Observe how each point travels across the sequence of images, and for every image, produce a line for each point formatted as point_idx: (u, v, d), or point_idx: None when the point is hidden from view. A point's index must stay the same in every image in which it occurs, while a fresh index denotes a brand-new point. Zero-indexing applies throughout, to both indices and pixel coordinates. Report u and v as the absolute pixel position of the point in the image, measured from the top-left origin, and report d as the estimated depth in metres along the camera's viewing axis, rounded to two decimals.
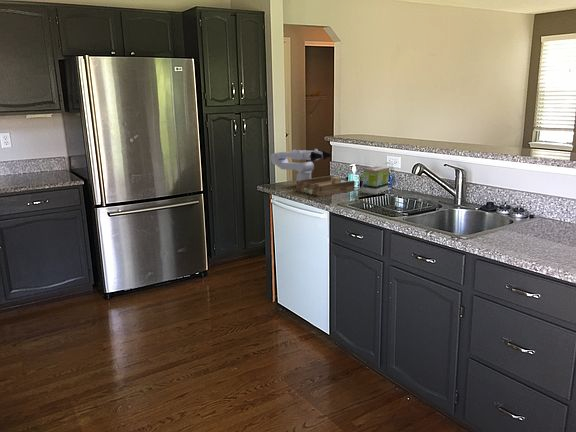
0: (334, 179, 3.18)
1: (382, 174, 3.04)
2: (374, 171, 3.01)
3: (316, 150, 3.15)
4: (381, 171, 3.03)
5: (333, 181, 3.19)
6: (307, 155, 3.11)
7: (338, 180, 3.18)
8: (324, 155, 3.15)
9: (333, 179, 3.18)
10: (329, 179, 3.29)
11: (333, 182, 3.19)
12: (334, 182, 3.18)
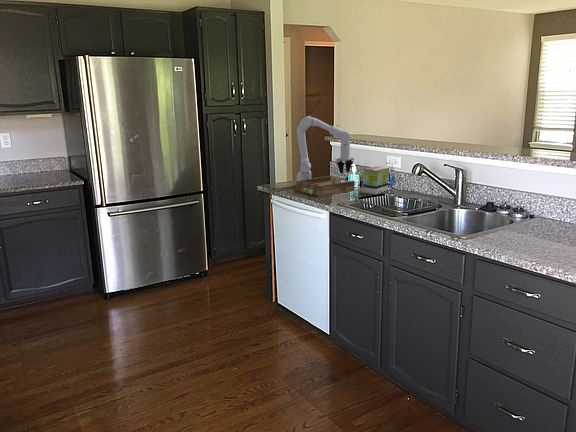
0: (334, 179, 3.18)
1: (382, 174, 3.04)
2: (374, 171, 3.01)
3: (348, 159, 3.18)
4: (381, 171, 3.03)
5: (333, 181, 3.19)
6: (337, 160, 3.16)
7: (338, 180, 3.18)
8: (347, 163, 3.23)
9: (333, 179, 3.18)
10: (329, 179, 3.29)
11: (333, 182, 3.19)
12: (334, 182, 3.18)
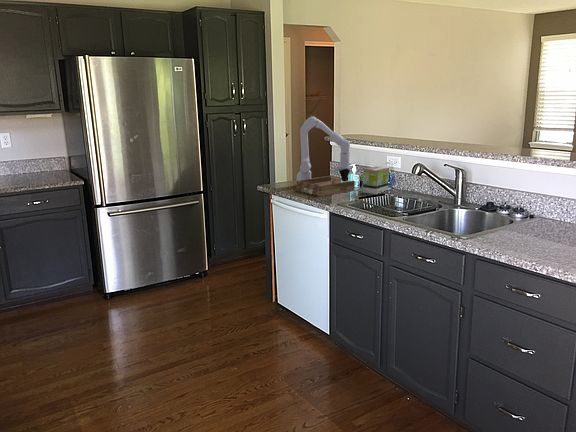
0: (334, 179, 3.18)
1: (382, 174, 3.04)
2: (374, 171, 3.01)
3: (347, 168, 3.19)
4: (381, 171, 3.03)
5: (333, 181, 3.19)
6: (336, 169, 3.17)
7: (338, 180, 3.18)
8: None
9: (333, 179, 3.18)
10: (329, 179, 3.29)
11: (333, 182, 3.19)
12: (334, 182, 3.18)
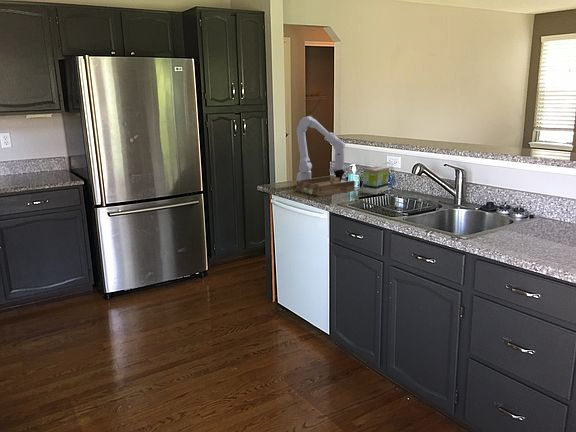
0: (333, 180, 3.17)
1: (382, 174, 3.04)
2: (374, 171, 3.01)
3: (342, 169, 3.17)
4: (381, 171, 3.03)
5: (332, 181, 3.18)
6: (331, 169, 3.14)
7: (337, 180, 3.17)
8: None
9: (332, 179, 3.18)
10: (329, 179, 3.29)
11: (332, 182, 3.18)
12: (333, 182, 3.17)
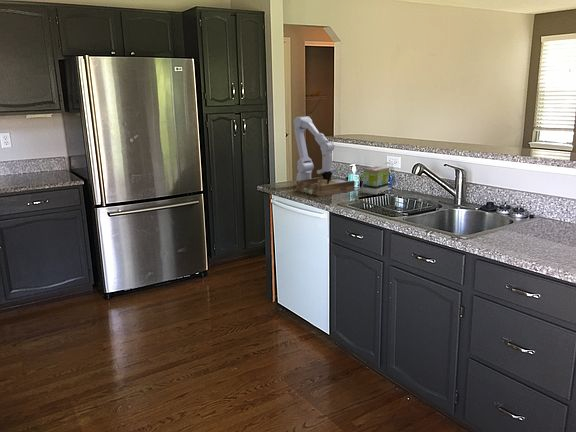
0: (320, 182, 3.11)
1: (382, 174, 3.04)
2: (374, 171, 3.01)
3: (330, 171, 3.10)
4: (381, 171, 3.03)
5: (319, 183, 3.12)
6: (318, 171, 3.08)
7: (324, 182, 3.11)
8: None
9: (319, 181, 3.11)
10: None
11: (319, 184, 3.12)
12: (320, 184, 3.11)
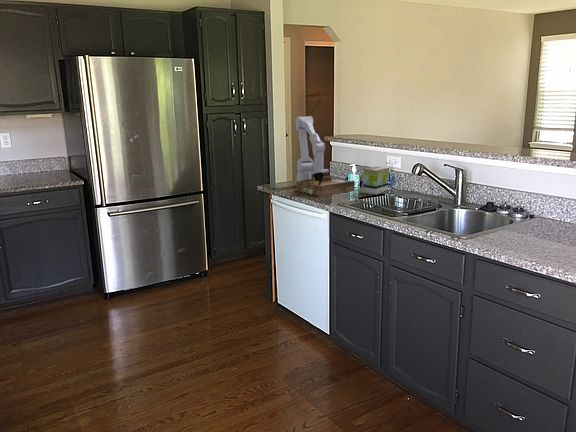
0: (312, 183, 3.07)
1: (382, 174, 3.04)
2: (374, 171, 3.01)
3: (321, 172, 3.06)
4: (381, 171, 3.03)
5: None
6: (310, 172, 3.04)
7: (316, 184, 3.07)
8: None
9: (311, 183, 3.08)
10: (329, 179, 3.29)
11: None
12: None
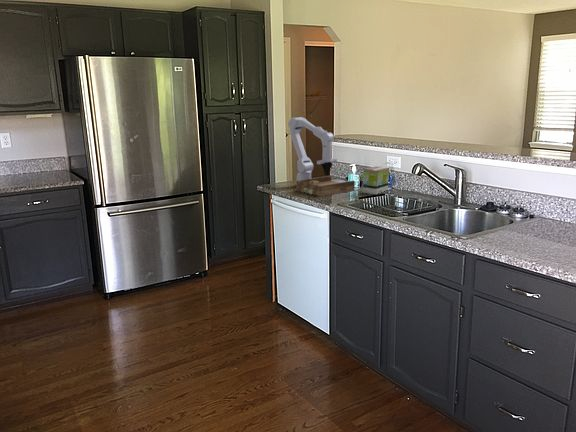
0: (312, 183, 3.07)
1: (382, 174, 3.04)
2: (374, 171, 3.01)
3: (330, 161, 3.11)
4: (381, 171, 3.03)
5: None
6: (318, 162, 3.09)
7: (316, 184, 3.07)
8: None
9: (311, 183, 3.07)
10: (329, 179, 3.29)
11: None
12: None
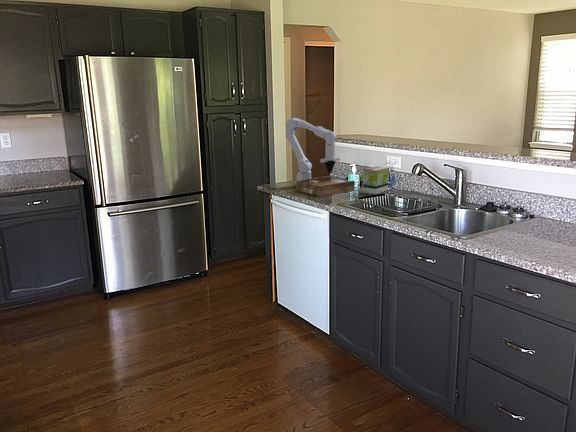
0: (312, 183, 3.07)
1: (382, 174, 3.04)
2: (374, 171, 3.01)
3: (333, 160, 3.17)
4: (381, 171, 3.03)
5: None
6: (322, 160, 3.15)
7: (316, 184, 3.07)
8: None
9: (311, 183, 3.07)
10: (329, 179, 3.29)
11: None
12: None
